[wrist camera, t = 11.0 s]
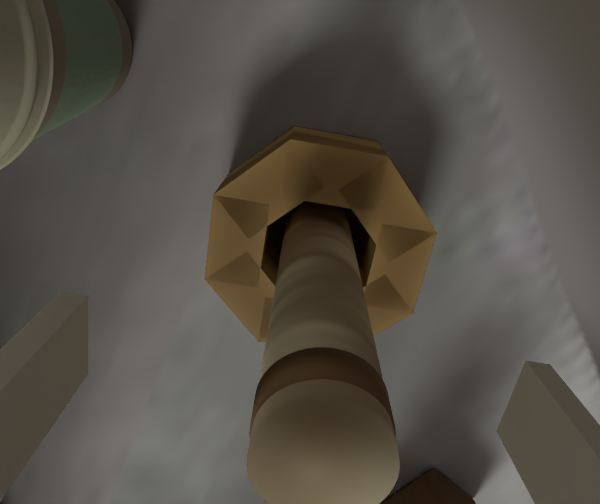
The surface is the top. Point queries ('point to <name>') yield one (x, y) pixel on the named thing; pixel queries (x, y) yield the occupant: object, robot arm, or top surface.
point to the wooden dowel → (321, 376)
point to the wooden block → (430, 491)
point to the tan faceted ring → (325, 190)
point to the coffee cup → (56, 65)
